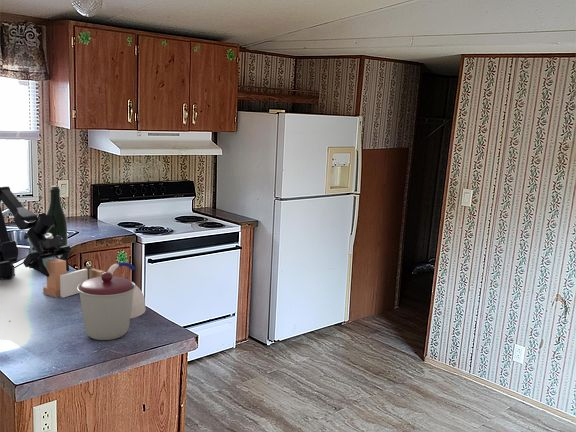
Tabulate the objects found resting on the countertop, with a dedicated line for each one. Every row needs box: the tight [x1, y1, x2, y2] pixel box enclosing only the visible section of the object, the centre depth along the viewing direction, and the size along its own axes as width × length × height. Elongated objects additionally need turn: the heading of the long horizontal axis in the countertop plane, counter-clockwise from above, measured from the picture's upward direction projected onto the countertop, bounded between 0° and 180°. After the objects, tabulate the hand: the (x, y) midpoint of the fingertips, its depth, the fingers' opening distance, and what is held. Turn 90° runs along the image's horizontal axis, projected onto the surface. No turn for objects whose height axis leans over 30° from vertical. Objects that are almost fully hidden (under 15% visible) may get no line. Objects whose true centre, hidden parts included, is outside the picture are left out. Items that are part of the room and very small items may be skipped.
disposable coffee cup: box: [27, 233, 53, 269], centre depth 256 cm, size 11×11×15 cm
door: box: [60, 268, 88, 298], centre depth 224 cm, size 12×3×9 cm, turn 151°
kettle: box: [107, 261, 147, 320], centre depth 209 cm, size 20×21×18 cm
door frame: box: [85, 264, 105, 279], centre depth 232 cm, size 22×2×10 cm, turn 61°
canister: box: [77, 271, 137, 341], centre depth 187 cm, size 18×18×21 cm
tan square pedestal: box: [42, 258, 67, 298], centre depth 224 cm, size 7×7×13 cm
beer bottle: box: [46, 185, 69, 252], centre depth 279 cm, size 10×10×33 cm
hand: (58, 273), depth 223 cm, fingers open, 9 cm apart
